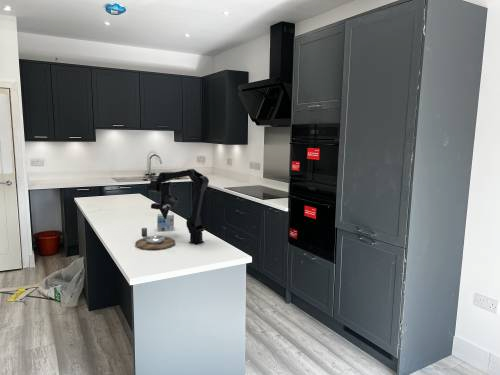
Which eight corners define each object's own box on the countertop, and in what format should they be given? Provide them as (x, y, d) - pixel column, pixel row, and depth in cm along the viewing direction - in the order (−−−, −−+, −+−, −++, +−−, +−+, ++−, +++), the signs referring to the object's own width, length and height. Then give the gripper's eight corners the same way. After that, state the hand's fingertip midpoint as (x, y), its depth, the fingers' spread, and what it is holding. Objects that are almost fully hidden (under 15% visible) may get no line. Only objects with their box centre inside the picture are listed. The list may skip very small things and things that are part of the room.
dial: (168, 240, 218) (168, 229, 217) (156, 244, 209) (156, 233, 208) (148, 237, 224) (148, 226, 224) (136, 241, 215) (136, 230, 215)
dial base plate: (182, 243, 221) (182, 240, 220) (156, 252, 201) (156, 249, 201) (154, 237, 231) (154, 234, 231) (126, 246, 212) (126, 243, 212)
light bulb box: (157, 231, 244) (157, 215, 242) (157, 229, 250) (156, 213, 249) (174, 230, 247) (174, 214, 245) (173, 228, 253) (173, 212, 252)
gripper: (164, 196, 215) (164, 223, 217) (185, 192, 231) (185, 217, 233) (150, 194, 220) (150, 220, 222) (171, 190, 236) (171, 215, 239)
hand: (165, 218), depth 229 cm, fingers closed
